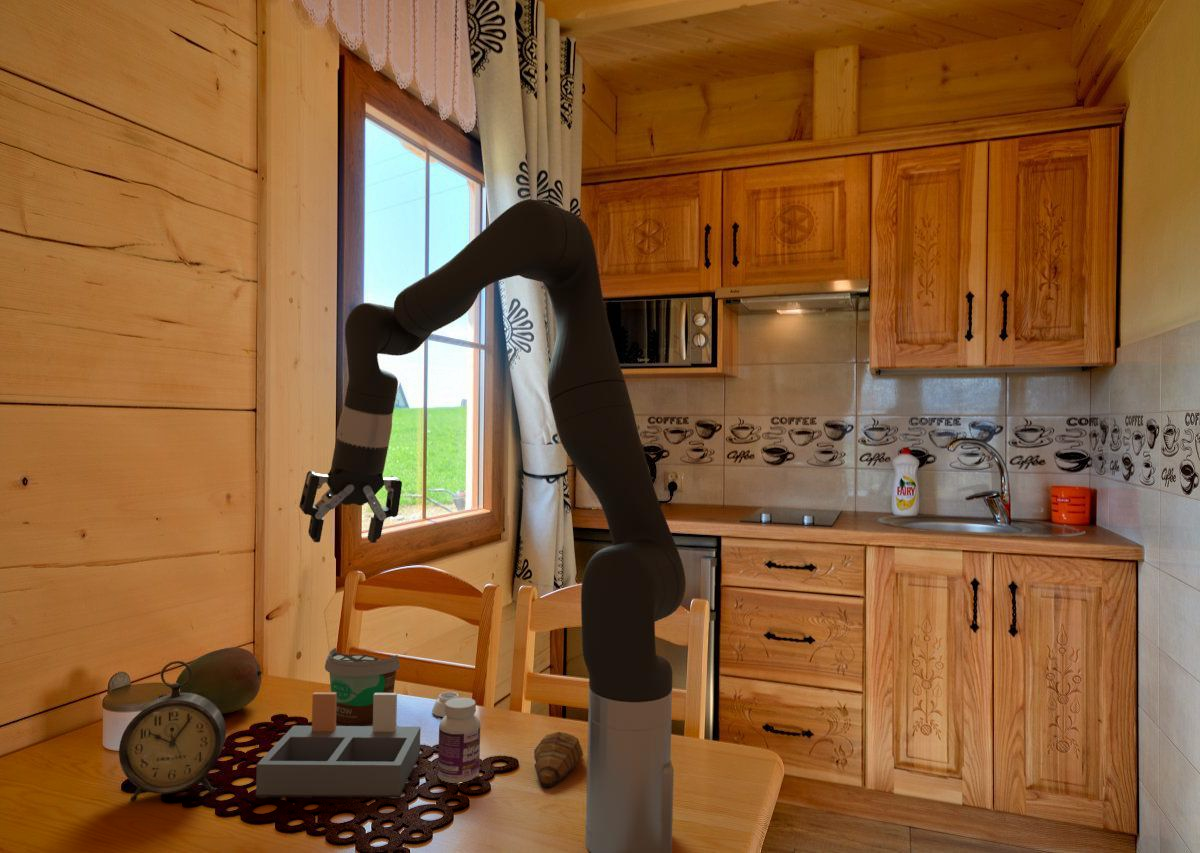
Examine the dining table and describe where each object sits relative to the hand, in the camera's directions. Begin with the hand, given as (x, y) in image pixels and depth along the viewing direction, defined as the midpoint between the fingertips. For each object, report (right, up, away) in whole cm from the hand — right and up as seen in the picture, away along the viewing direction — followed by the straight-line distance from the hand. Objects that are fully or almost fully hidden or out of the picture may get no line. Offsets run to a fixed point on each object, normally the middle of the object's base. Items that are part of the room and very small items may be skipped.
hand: (344, 540), depth 114 cm
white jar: (+15, -29, +6) cm, 33 cm away
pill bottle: (+20, -29, -16) cm, 38 cm away
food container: (+1, -28, +2) cm, 28 cm away
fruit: (-21, -28, +4) cm, 35 cm away
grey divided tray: (+5, -28, -16) cm, 33 cm away
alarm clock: (-13, -28, -22) cm, 38 cm away
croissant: (+33, -29, -12) cm, 46 cm away
